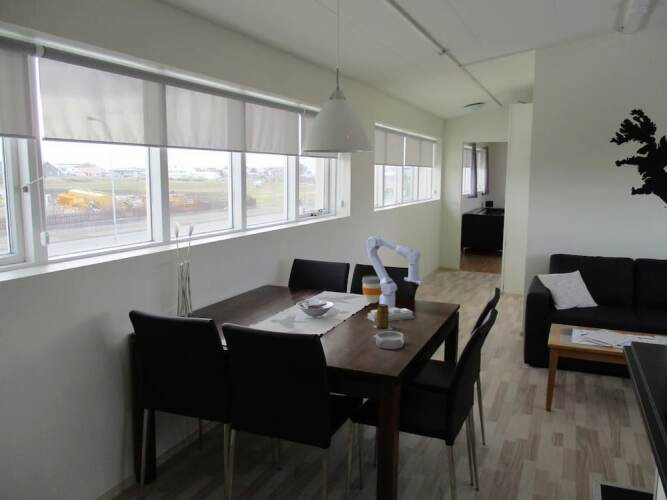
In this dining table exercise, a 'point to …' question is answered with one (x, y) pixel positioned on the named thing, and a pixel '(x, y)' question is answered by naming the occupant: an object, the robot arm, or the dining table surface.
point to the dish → (389, 340)
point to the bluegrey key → (395, 310)
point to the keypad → (392, 316)
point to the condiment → (382, 317)
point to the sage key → (374, 312)
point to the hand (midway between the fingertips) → (413, 295)
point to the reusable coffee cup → (371, 288)
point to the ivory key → (405, 310)
